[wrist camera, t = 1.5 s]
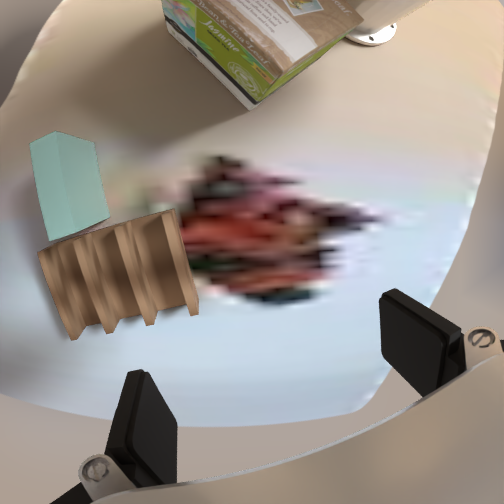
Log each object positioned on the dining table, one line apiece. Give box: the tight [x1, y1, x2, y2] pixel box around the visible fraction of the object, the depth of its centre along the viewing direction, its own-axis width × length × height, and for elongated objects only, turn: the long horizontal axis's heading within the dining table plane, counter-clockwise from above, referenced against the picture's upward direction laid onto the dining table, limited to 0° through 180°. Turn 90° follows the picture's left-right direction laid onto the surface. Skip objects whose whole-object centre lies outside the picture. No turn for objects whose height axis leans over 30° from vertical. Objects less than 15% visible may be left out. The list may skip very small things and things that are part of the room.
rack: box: [37, 209, 199, 341], centre depth 31 cm, size 11×16×4 cm
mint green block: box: [29, 131, 110, 241], centre depth 25 cm, size 9×3×10 cm, turn 12°
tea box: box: [161, 0, 364, 111], centre depth 22 cm, size 15×10×15 cm
